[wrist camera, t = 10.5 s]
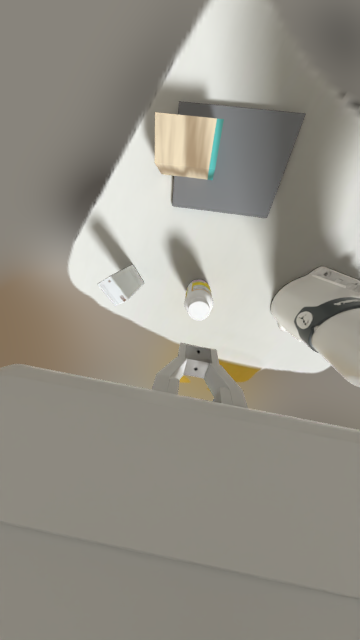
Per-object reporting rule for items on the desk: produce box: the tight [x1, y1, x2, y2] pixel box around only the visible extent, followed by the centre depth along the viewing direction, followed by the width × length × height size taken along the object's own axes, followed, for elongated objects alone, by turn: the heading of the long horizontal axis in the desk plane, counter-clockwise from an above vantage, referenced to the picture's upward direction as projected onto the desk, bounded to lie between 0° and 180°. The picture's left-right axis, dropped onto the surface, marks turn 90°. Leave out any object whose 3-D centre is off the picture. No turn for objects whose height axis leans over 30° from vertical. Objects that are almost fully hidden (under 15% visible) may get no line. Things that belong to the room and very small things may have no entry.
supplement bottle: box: [184, 280, 213, 321], centre depth 34 cm, size 7×7×13 cm
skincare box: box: [97, 265, 144, 306], centre depth 34 cm, size 6×4×12 cm
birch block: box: [155, 112, 224, 180], centre depth 23 cm, size 5×5×10 cm
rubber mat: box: [172, 101, 305, 218], centre depth 25 cm, size 20×13×1 cm, turn 84°
